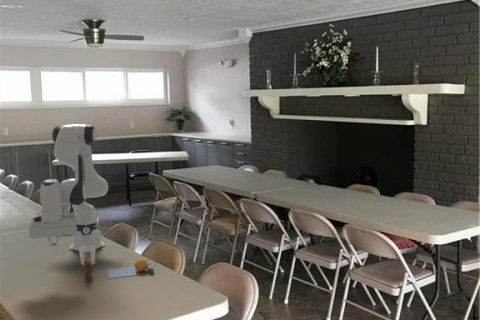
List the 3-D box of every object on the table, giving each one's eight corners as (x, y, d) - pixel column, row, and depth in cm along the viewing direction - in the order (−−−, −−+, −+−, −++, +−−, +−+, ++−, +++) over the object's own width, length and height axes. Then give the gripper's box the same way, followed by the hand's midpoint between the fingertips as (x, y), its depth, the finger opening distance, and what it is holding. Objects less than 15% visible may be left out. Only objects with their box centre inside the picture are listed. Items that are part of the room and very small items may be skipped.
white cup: (79, 267, 254) (78, 247, 253) (80, 262, 262) (78, 243, 261) (96, 265, 256) (95, 245, 255) (96, 260, 264) (95, 241, 263)
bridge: (85, 282, 232) (84, 261, 231) (85, 271, 247) (83, 252, 246) (92, 281, 233) (91, 260, 232) (91, 271, 248) (90, 251, 246)
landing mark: (106, 270, 249) (106, 269, 249) (134, 266, 252) (134, 266, 252) (108, 278, 236) (108, 278, 236) (137, 275, 240) (137, 274, 240)
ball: (131, 267, 247) (136, 255, 247) (143, 270, 249) (147, 258, 249) (133, 271, 241) (138, 259, 241) (145, 274, 244) (150, 262, 244)
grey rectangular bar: (145, 265, 254) (145, 260, 254) (149, 264, 255) (149, 259, 255) (149, 274, 241) (149, 269, 241) (153, 273, 242) (153, 268, 241)
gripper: (76, 212, 238) (78, 241, 240) (28, 216, 233) (31, 246, 234) (76, 215, 232) (78, 245, 234) (27, 219, 227) (29, 250, 228)
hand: (54, 245), depth 234 cm, fingers closed
